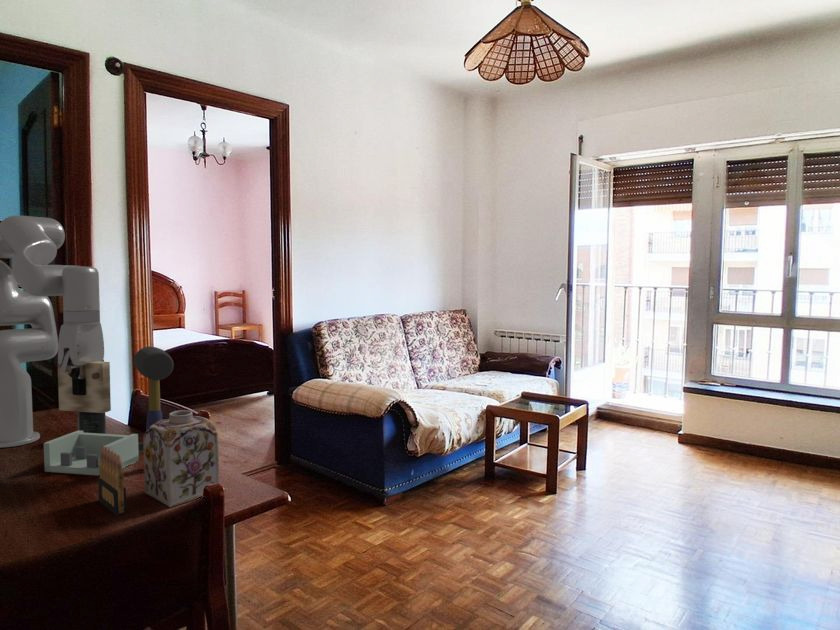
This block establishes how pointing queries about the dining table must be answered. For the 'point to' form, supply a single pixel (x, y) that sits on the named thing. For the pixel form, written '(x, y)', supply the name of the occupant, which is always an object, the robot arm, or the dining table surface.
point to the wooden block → (87, 389)
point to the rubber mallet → (153, 377)
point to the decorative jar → (180, 458)
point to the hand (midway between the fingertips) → (84, 392)
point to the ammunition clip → (111, 482)
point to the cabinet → (87, 452)
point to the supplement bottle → (92, 422)
